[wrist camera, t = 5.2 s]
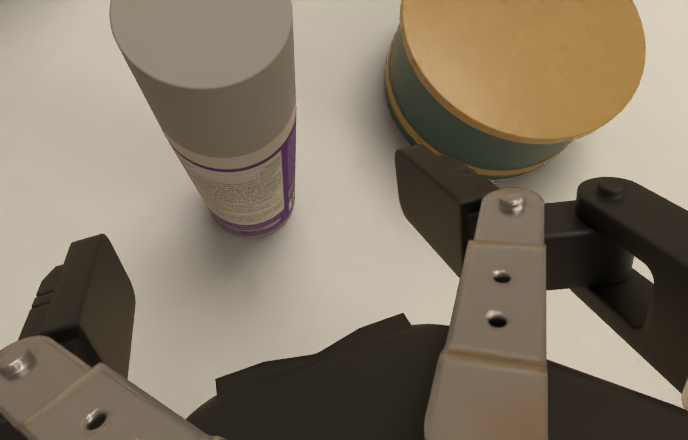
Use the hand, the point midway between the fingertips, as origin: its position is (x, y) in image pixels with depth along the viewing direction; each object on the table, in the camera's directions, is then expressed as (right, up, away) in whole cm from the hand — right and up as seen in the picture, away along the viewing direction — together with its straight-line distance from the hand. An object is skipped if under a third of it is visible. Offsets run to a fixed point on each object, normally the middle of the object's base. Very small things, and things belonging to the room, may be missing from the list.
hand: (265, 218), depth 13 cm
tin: (+11, +8, +16) cm, 21 cm away
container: (-3, +1, +13) cm, 14 cm away
